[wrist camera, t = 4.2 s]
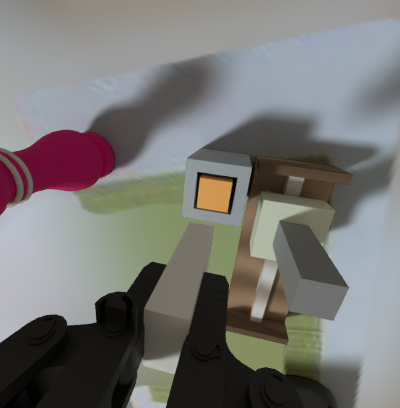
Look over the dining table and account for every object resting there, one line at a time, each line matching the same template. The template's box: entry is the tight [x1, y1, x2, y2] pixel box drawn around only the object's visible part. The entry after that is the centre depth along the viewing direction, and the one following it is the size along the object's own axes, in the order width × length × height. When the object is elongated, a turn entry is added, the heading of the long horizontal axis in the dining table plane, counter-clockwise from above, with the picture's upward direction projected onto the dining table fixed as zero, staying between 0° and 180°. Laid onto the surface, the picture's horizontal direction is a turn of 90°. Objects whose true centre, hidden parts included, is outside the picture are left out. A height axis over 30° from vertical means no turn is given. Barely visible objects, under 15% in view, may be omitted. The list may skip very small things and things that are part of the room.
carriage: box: [250, 191, 349, 321], centre depth 20 cm, size 7×7×12 cm
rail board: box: [226, 156, 352, 345], centre depth 29 cm, size 25×9×4 cm, turn 174°
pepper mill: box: [0, 130, 114, 215], centre depth 21 cm, size 7×7×20 cm
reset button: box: [197, 173, 233, 212], centre depth 23 cm, size 3×3×6 cm
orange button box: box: [182, 148, 252, 227], centre depth 24 cm, size 6×6×8 cm
